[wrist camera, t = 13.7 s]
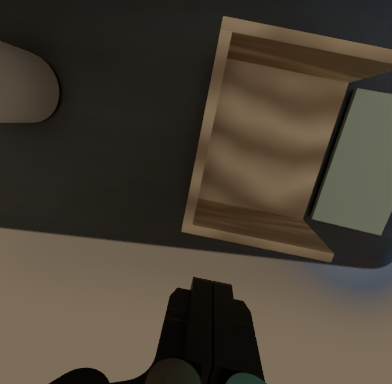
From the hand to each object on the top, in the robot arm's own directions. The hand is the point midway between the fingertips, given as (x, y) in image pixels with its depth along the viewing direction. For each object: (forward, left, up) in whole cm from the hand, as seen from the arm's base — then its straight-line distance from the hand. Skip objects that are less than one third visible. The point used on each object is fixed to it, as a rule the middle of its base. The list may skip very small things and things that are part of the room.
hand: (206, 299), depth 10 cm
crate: (-5, +6, -27) cm, 28 cm away
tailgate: (-5, +15, -26) cm, 30 cm away
